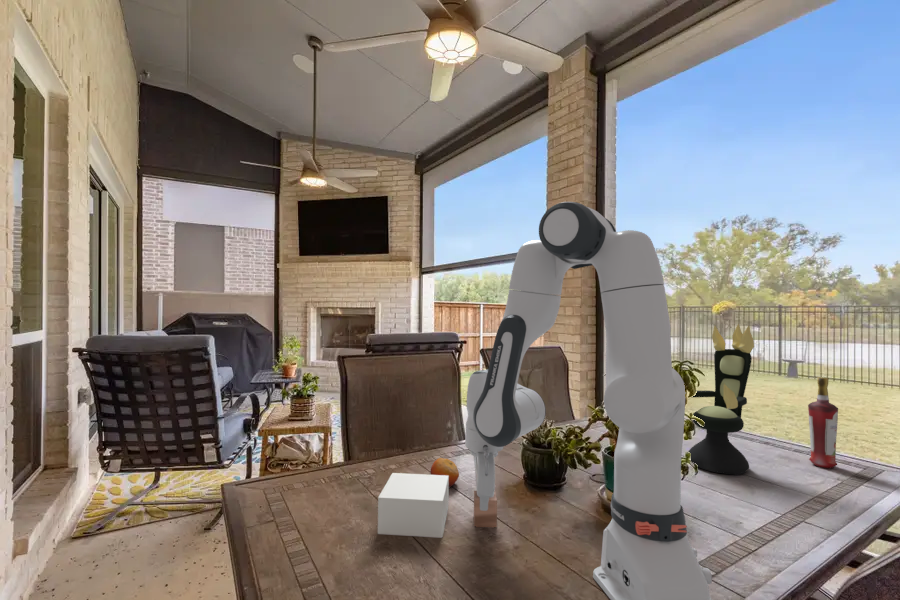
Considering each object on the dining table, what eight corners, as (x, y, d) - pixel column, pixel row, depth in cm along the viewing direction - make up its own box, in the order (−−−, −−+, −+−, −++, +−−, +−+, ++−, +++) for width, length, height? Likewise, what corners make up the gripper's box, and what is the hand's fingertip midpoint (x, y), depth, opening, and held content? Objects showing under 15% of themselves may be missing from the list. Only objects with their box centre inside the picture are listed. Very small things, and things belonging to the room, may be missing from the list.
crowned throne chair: (669, 459, 142) (670, 322, 143) (713, 451, 151) (714, 322, 152) (727, 480, 125) (727, 324, 126) (773, 469, 134) (773, 324, 135)
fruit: (427, 472, 125) (442, 449, 124) (450, 488, 123) (465, 465, 122) (420, 483, 117) (435, 458, 116) (444, 501, 115) (460, 476, 115)
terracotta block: (496, 527, 97) (497, 500, 97) (474, 527, 97) (474, 500, 97) (495, 516, 102) (495, 491, 102) (473, 516, 102) (474, 490, 102)
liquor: (813, 460, 143) (813, 375, 144) (842, 467, 137) (842, 378, 138) (804, 464, 140) (804, 377, 140) (833, 471, 133) (833, 380, 134)
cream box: (442, 538, 92) (442, 500, 92) (377, 534, 93) (378, 497, 93) (448, 508, 106) (448, 475, 106) (391, 505, 107) (392, 472, 107)
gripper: (502, 455, 89) (500, 522, 89) (494, 427, 110) (493, 481, 110) (471, 454, 89) (469, 521, 89) (469, 426, 110) (468, 480, 110)
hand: (482, 499), depth 100 cm, fingers open, 8 cm apart
